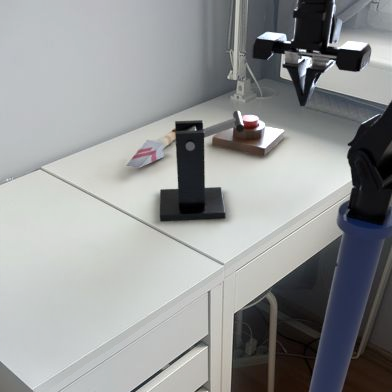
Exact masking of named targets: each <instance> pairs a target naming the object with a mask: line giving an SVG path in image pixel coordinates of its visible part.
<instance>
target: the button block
mask: <svg viewBox="0 0 392 392" xmlns="http://www.w3.org/2000/svg"><path fill="white" fill-rule="evenodd" d="M265 124H266V123H265V122H264V121H262V120H260V119H258V127H257V128H254V129H245V128H244V130H243V131H242V132H238V131H237V130H236V127H234V128H231V129H228V130H225V131H222V132H219V133H217V134H214V135H212V136H211V137H212V138H211V141H212V142H211V146H215V147H219V148H225V149H229V150H233V151H238V152H243V153H247V154H251V155H256V156H261V157H265V156H266V155H268V153H270V152H271V151H272V150H273V149H274V148H275V147H276V146H277V145H278V144H280V142H282V140H284V137H285V130H284V129H281V128H275V127H271V126H266V125H265Z"/></svg>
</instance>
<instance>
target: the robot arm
mask: <svg viewBox="0 0 392 392" xmlns="http://www.w3.org/2000/svg"><path fill="white" fill-rule="evenodd" d="M335 1H336V0H297V1H296V8H295V9H293V12H292V19H295V20H294V29H293V30H294V31H293V38H292V39H291V40H290V41H289V40H288V41H287V35H286V34H285V33H279V32H270V31H266V32H264V33H263V34H261V35H260V36H258V37H256V38H255V39H254V40H253V42H252V45H251V54H250V55H251V58H252V59H254V60H261V61H263V60H264V61H268V60H269V59H270V58H271V57H272V56H273V55H274V54H278V55H284V61H283V63H282V64H281V66H282V68H283V69H286V70H287V72H288V74H289V77H290V79H291V82H292V84H293V87H294V90H295V93H296V97H297V101H298V103H299V106H300V107H301V108H302V107H303V108H305V107H307V106H308V104H309V101H310V99H311V96H312V94H313V92H314V90H315V88H316V86H317V83H318V81H319V79H320V78H321V76H322V74H324V73H325V72H327V71H328V70H329V69H330V68H331V67H333V66H334V64H335V66H336V67H337V69H338V70H339V71H345V72H353V73H357V72H358V73H359V72H361V71H362V70H363V69H364V68H365V67H366V66H367V65H368V64H369V63H370V60H371V56H372V47H371V45H370V43H368V42H360V41H351V40H348V41H347V42H345V43H344V44H343V45H342V46H331V45H330V44H338V42H339V38H340V34H341V29H342V25H343V20H341V18H339V17H337V16H336V14H337V13H336V11H337V5H336V4H335ZM311 61H312V63H311ZM347 146H348V147H349V148H348V150H347V152H346V153H347V154H346V159H347V162H348V166H349V168H350V176H351V177H350V178H351V185H352V187H351V190H350V196H349V199H348V200H349V204H348V209H350V210H349V212H348V213H347V217H349V218H353V219H357V220H361V221H365V222H369V223H373V224H377V225H383V224H384V222H385V221H386V219H387V217H388V215H389V214H390V212H391V210H392V207H391V205H392V99H391V100H390V102H389V103H388V105H386V107H385V109H384V111H383V112H382V114H381V113H378V114H377V115H374V116H373V117H371V118H369V119H368V120H366V121H364V122H362V123H360V125H359V127H358V128H357V130H356V132H355V135H354V137H353V139H351V141H350V142H347Z"/></svg>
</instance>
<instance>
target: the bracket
mask: <svg viewBox="0 0 392 392" xmlns="http://www.w3.org/2000/svg"><path fill="white" fill-rule="evenodd" d="M193 126H196V129H197V131H181V130H184V129H187V128H190V127H193ZM174 128H175V136H176V139H175V153H176V154H175V155H176V173H177V188H165V189H164V188H163V189H162V188H161V189H160V190H159V193H160V194H159V222H179V221H180V222H181V221H201V220H202V221H205V220H206V221H208V220H209V221H210V220H225V219H226V208H225V203H224V196H223V190H222V189H223V188H222V187H221V186H215V187H214V186H213V187H206V184H205V183H206V180H205V179H206V175H205V174H206V173H205V172H206V171H205V169H206V168H205V167H206V166H205V165H206V164H205V162H206V161H205V138H204V130H202V129H204V121H203V119H198V120H196V119H195V120H175V121H174Z"/></svg>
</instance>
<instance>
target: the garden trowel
mask: <svg viewBox="0 0 392 392" xmlns="http://www.w3.org/2000/svg"><path fill="white" fill-rule="evenodd" d="M174 141H176V136H175V127H174V128H173V129H172V130H171V131H169V132H167V134H165V135H163V136H162V137H161V138H160V139H158V140H157V141H155V140H149V139H147V140H146V141H145V142H144V143H143V144H142V146H141V147H140V148H139V149H138V150H137V151H136V153H135V154H134V155H133V156H132V157H131V158H130V160H129V161H128V162H127V163H126V165H125V166H126V167H131V168H137V169H139V168H142V167H144V166H146V165H149V164H151V163H153V162H155V161H158V160H160V159H162V158H164V157H166V155H165V153H164V152H165V151H164V149H165V148H166V147H167V146H169V145H170V144H172V142H174Z"/></svg>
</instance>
